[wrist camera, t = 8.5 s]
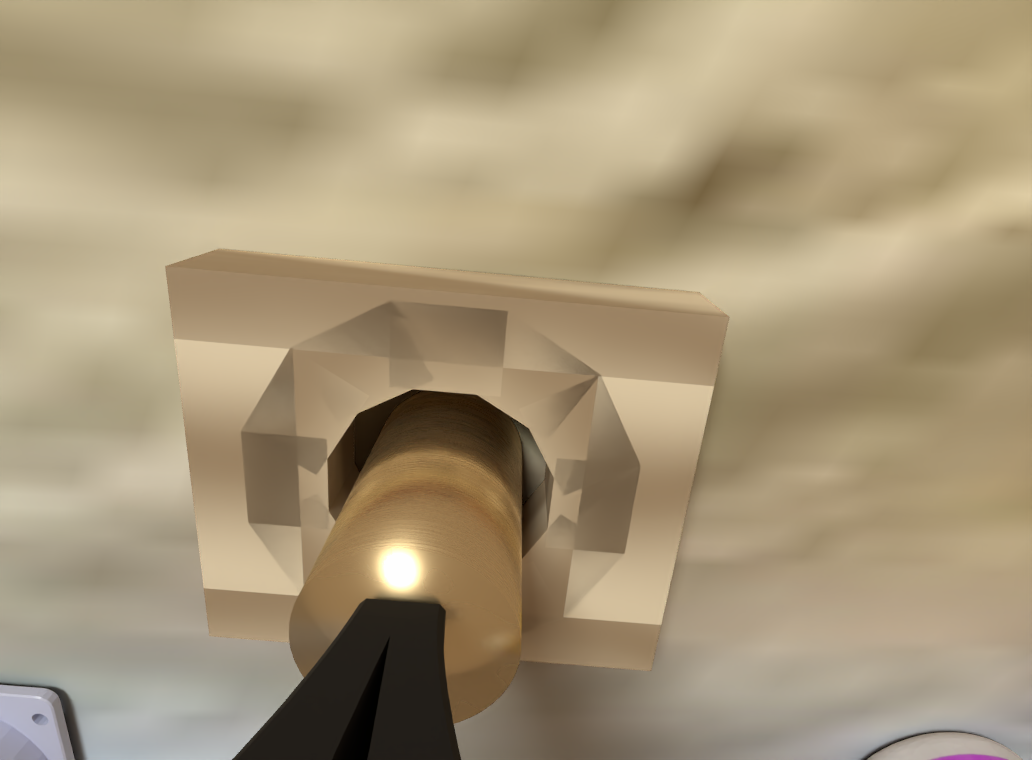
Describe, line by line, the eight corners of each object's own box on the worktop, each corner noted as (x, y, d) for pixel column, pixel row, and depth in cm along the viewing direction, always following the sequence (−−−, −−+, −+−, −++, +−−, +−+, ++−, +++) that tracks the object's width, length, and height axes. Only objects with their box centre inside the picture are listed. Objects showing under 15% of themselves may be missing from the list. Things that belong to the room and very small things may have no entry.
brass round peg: (516, 519, 18) (512, 737, 11) (379, 508, 18) (295, 721, 11) (527, 393, 16) (531, 557, 10) (379, 381, 16) (281, 539, 10)
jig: (635, 608, 19) (650, 671, 16) (247, 577, 19) (209, 636, 16) (699, 292, 15) (729, 317, 13) (219, 248, 15) (165, 266, 13)
